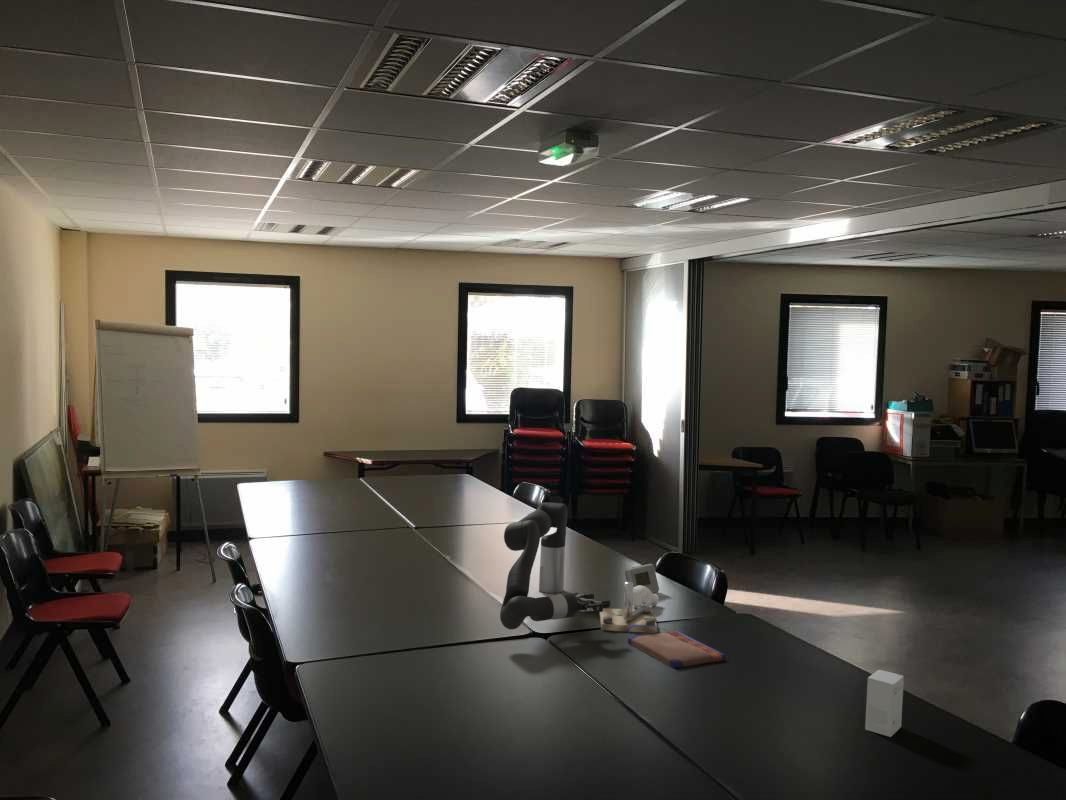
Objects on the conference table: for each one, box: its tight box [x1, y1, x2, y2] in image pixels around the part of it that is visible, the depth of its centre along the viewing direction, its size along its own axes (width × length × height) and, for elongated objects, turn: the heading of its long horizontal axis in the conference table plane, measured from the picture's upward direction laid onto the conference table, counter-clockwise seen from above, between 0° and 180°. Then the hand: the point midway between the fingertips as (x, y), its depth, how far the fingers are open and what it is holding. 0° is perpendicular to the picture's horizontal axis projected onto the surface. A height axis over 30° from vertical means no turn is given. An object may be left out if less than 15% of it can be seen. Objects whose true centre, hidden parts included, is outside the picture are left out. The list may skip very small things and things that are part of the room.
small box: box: [864, 669, 905, 738], centre depth 209 cm, size 8×6×13 cm
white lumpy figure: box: [632, 585, 660, 609], centre depth 305 cm, size 6×8×12 cm
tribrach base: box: [598, 607, 658, 634], centre depth 286 cm, size 18×18×4 cm
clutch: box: [626, 625, 726, 669], centre depth 261 cm, size 28×5×19 cm
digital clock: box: [624, 563, 660, 594], centre depth 322 cm, size 16×9×11 cm, turn 123°
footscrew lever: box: [622, 581, 652, 621], centre depth 286 cm, size 17×5×12 cm, turn 148°
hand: (601, 600), depth 274 cm, fingers open, 8 cm apart
